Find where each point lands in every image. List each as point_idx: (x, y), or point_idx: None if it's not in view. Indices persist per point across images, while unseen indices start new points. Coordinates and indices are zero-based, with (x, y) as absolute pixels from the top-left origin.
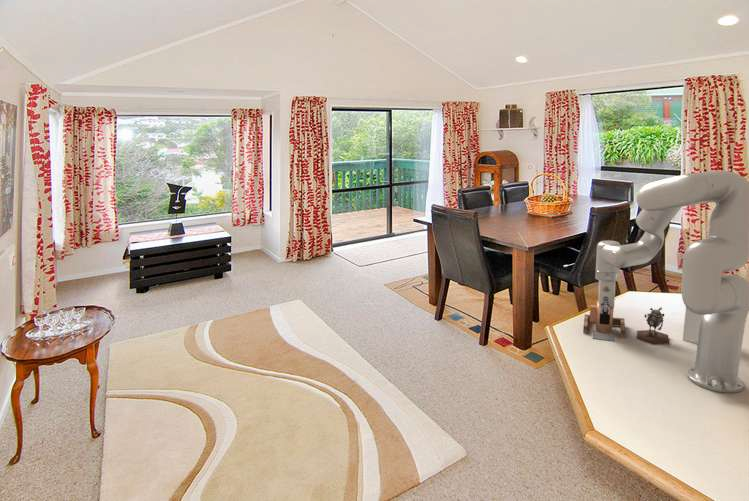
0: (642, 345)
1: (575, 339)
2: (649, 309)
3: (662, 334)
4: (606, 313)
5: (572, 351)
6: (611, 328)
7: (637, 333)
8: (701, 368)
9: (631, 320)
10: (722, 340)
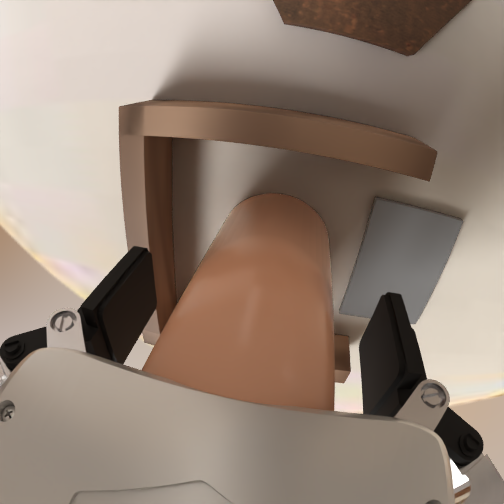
0: (498, 68)
1: None
2: None
3: None
4: (443, 415)
5: (496, 379)
6: (306, 217)
7: (345, 29)
8: None
9: (61, 59)
10: None
